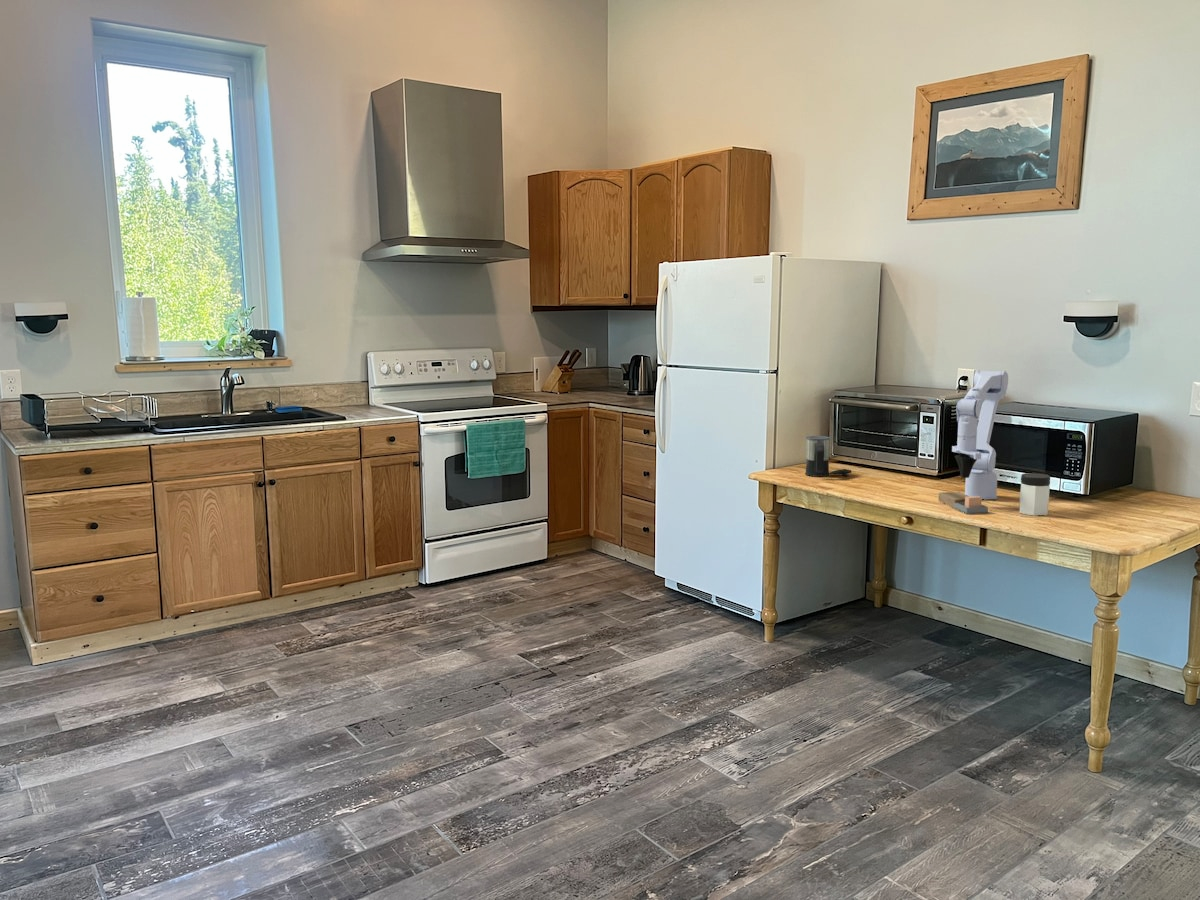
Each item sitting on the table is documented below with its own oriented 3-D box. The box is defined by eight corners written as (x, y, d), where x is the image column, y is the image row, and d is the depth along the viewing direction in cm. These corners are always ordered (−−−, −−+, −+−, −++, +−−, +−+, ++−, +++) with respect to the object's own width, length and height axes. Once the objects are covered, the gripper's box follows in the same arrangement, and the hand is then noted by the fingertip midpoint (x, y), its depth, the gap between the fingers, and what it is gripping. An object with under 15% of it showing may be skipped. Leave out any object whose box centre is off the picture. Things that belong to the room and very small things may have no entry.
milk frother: (801, 473, 341) (801, 435, 338) (838, 471, 343) (839, 434, 341) (816, 480, 327) (817, 441, 324) (855, 478, 330) (856, 439, 327)
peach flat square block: (977, 495, 275) (981, 497, 273) (976, 509, 276) (980, 511, 274) (965, 496, 274) (969, 498, 272) (964, 510, 275) (968, 512, 273)
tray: (974, 507, 280) (975, 501, 279) (987, 513, 272) (988, 507, 272) (954, 508, 279) (954, 502, 279) (966, 514, 272) (966, 508, 271)
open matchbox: (958, 500, 290) (958, 491, 289) (974, 507, 280) (975, 498, 279) (938, 501, 289) (938, 492, 289) (954, 508, 279) (954, 499, 278)
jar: (1018, 508, 277) (1020, 471, 275) (1047, 510, 274) (1049, 473, 272) (1019, 515, 269) (1021, 477, 267) (1048, 517, 266) (1051, 479, 264)
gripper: (944, 433, 286) (942, 473, 288) (967, 439, 271) (964, 482, 274) (964, 432, 286) (962, 472, 289) (988, 439, 272) (986, 481, 274)
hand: (964, 477), depth 281 cm, fingers closed
